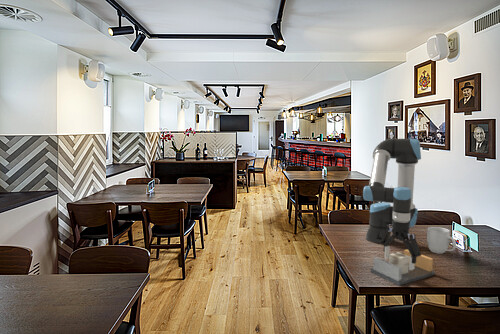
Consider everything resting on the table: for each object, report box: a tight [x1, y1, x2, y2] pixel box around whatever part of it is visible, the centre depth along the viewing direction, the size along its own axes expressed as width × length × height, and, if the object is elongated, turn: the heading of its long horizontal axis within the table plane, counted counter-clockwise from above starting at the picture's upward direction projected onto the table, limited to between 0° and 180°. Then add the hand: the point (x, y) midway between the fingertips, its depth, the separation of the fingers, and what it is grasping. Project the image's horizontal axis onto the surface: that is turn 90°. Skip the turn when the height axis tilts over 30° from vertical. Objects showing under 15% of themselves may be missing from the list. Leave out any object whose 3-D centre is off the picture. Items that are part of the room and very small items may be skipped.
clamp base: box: [370, 256, 436, 287], centre depth 153 cm, size 16×25×8 cm, turn 117°
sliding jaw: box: [403, 248, 434, 272], centre depth 158 cm, size 14×2×6 cm, turn 27°
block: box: [388, 251, 409, 274], centre depth 152 cm, size 6×6×8 cm
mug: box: [426, 226, 457, 255], centre depth 180 cm, size 15×11×13 cm
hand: (398, 264), depth 152 cm, fingers open, 13 cm apart
